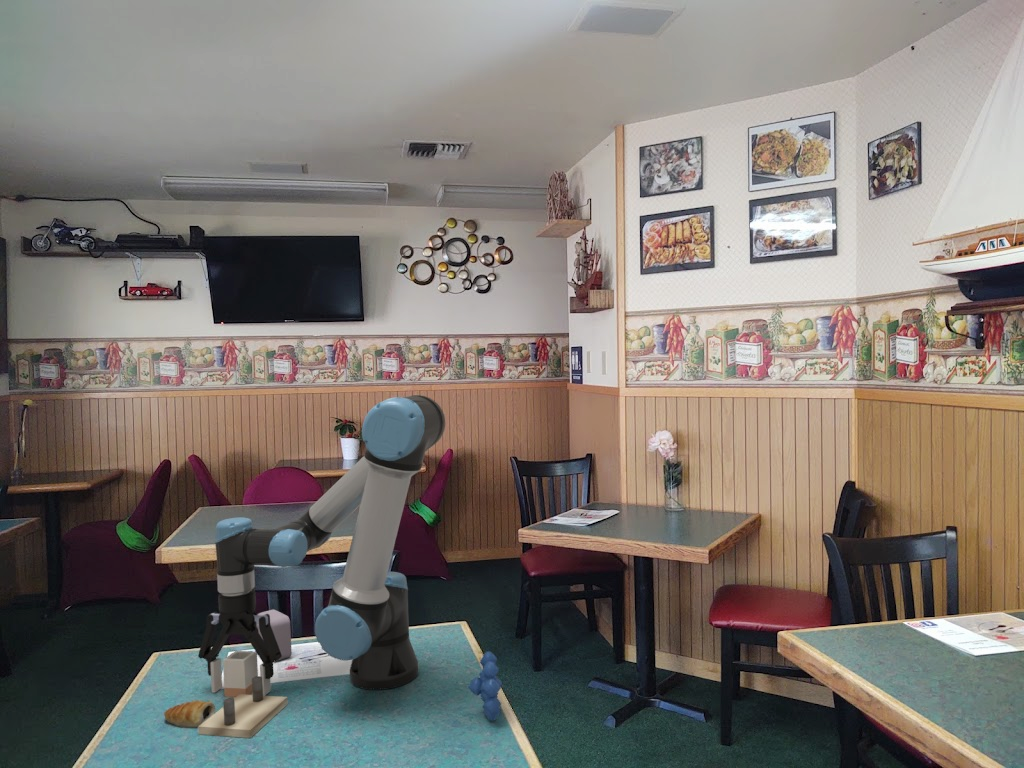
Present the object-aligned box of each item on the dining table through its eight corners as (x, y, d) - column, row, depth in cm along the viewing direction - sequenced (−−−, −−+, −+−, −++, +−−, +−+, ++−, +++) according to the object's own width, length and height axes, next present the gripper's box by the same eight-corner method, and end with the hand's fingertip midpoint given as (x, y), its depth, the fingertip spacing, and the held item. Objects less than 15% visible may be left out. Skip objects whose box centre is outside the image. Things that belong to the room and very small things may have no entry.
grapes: (467, 703, 151) (465, 645, 151) (500, 700, 152) (498, 642, 152) (471, 731, 140) (468, 668, 139) (506, 727, 140) (504, 665, 140)
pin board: (287, 704, 154) (286, 675, 154) (250, 738, 140) (248, 706, 140) (239, 701, 156) (238, 672, 156) (198, 734, 143) (196, 703, 142)
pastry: (156, 727, 146) (155, 708, 146) (177, 711, 153) (176, 693, 153) (200, 729, 145) (199, 710, 145) (219, 713, 151) (218, 695, 151)
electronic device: (255, 653, 183) (253, 612, 183) (273, 647, 186) (271, 608, 186) (273, 664, 176) (271, 622, 175) (291, 658, 179) (289, 617, 178)
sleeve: (258, 687, 162) (256, 651, 162) (245, 698, 158) (244, 660, 157) (237, 686, 164) (236, 650, 163) (224, 696, 159) (222, 659, 158)
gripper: (295, 587, 161) (299, 686, 162) (198, 584, 166) (203, 681, 167) (277, 598, 154) (282, 702, 154) (177, 594, 159) (182, 696, 159)
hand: (241, 691), depth 161 cm, fingers open, 11 cm apart
